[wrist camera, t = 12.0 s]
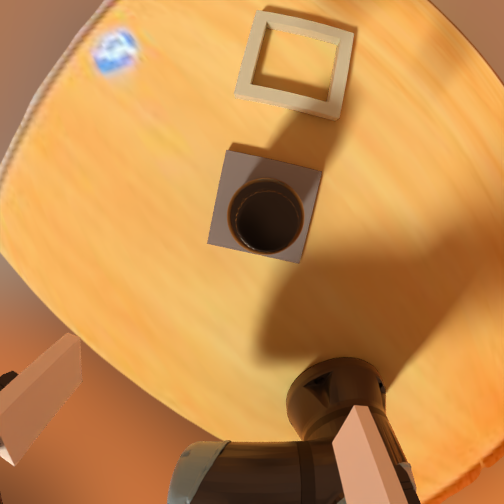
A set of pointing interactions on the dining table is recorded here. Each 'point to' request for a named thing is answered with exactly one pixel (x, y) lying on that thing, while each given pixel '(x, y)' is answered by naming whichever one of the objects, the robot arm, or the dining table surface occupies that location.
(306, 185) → the slate coaster
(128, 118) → the dining table surface
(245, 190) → the supplement bottle
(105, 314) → the dining table surface
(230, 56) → the dining table surface
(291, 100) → the frame
